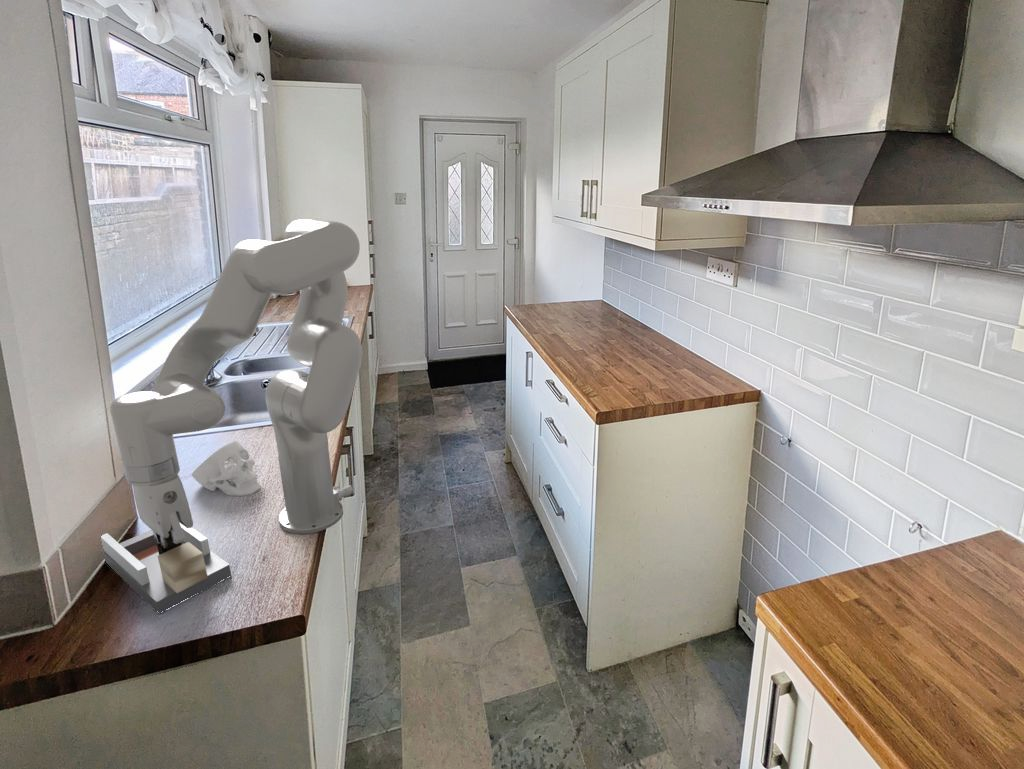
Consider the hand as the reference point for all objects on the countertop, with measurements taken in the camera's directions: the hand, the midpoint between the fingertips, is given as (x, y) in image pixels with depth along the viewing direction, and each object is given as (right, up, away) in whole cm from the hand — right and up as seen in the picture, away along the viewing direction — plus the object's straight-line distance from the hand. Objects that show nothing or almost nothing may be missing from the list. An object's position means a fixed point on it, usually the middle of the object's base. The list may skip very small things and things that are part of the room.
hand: (173, 561), depth 101 cm
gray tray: (-3, -2, +4) cm, 5 cm away
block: (+4, -2, -3) cm, 5 cm away
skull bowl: (-6, +7, +32) cm, 33 cm away
